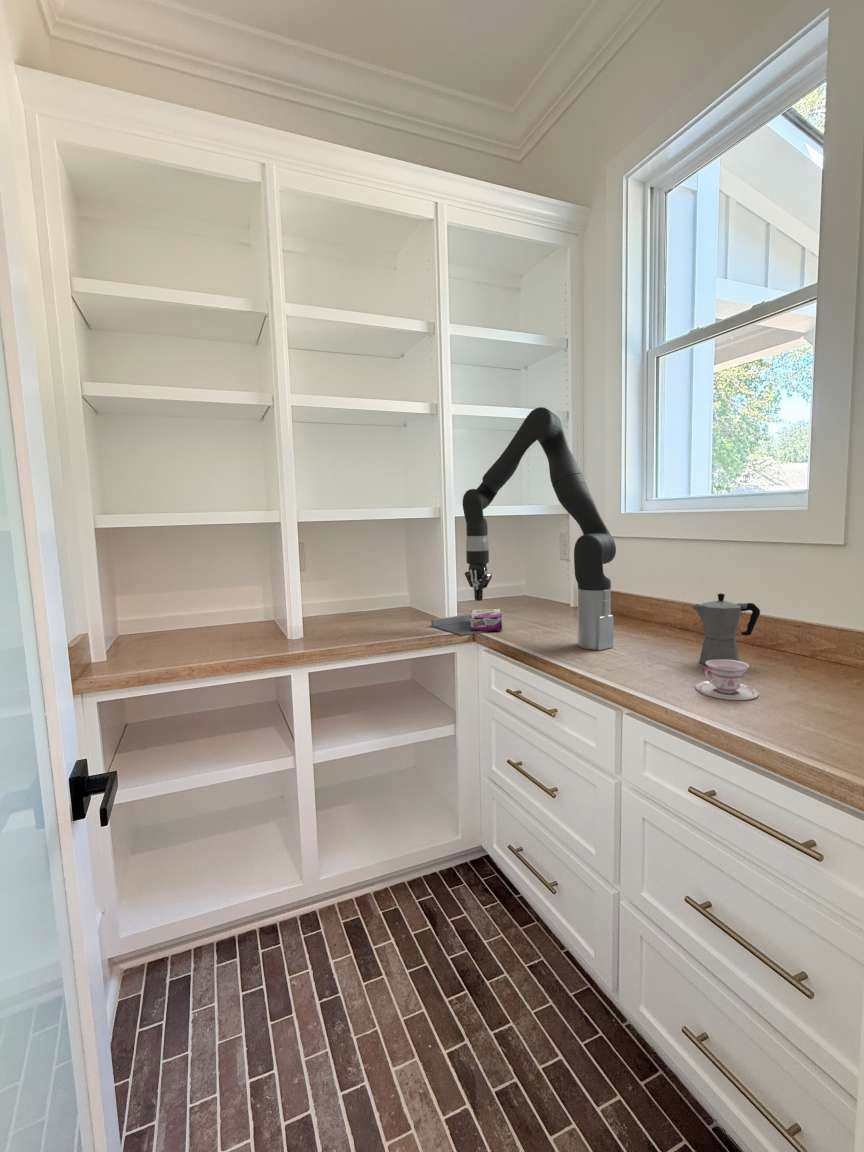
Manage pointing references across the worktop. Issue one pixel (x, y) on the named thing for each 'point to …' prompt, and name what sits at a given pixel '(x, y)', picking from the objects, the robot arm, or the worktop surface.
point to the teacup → (726, 680)
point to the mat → (455, 625)
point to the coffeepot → (723, 627)
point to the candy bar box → (486, 620)
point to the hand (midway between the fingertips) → (478, 600)
